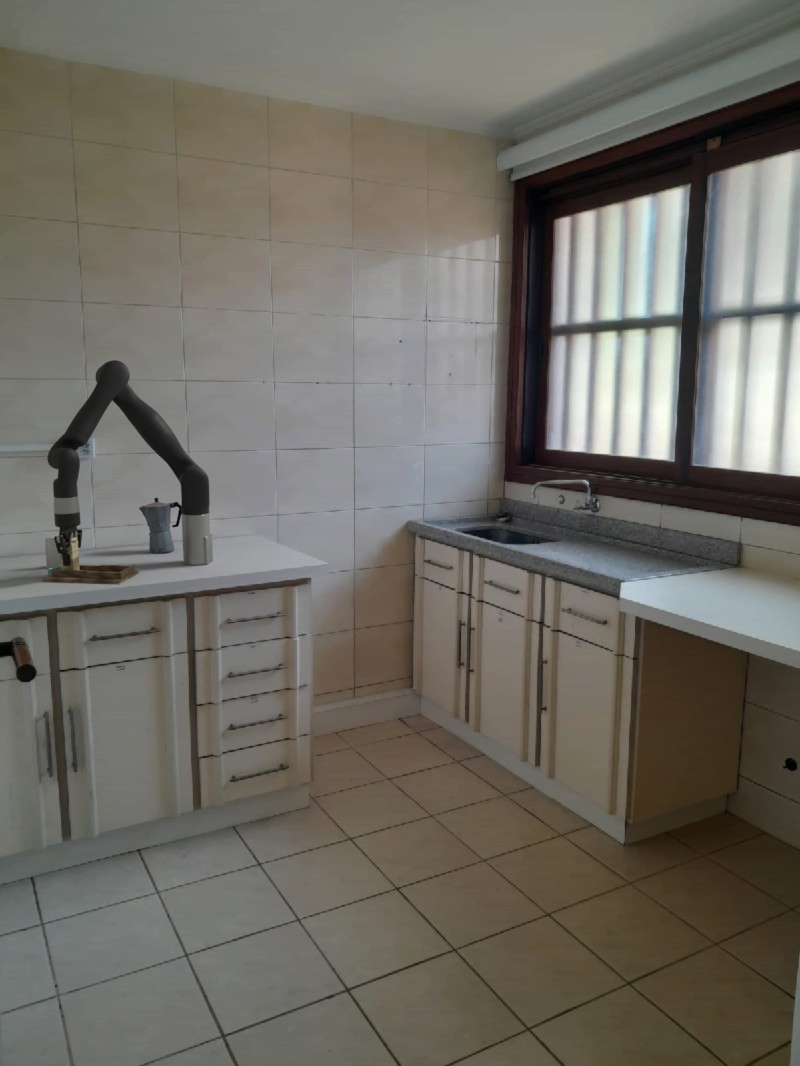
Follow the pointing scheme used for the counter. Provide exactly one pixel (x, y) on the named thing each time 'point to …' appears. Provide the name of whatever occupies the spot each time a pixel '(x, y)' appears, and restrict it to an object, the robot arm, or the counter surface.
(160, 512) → the moka pot
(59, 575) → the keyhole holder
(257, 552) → the counter surface
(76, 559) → the maple peg
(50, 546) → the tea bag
